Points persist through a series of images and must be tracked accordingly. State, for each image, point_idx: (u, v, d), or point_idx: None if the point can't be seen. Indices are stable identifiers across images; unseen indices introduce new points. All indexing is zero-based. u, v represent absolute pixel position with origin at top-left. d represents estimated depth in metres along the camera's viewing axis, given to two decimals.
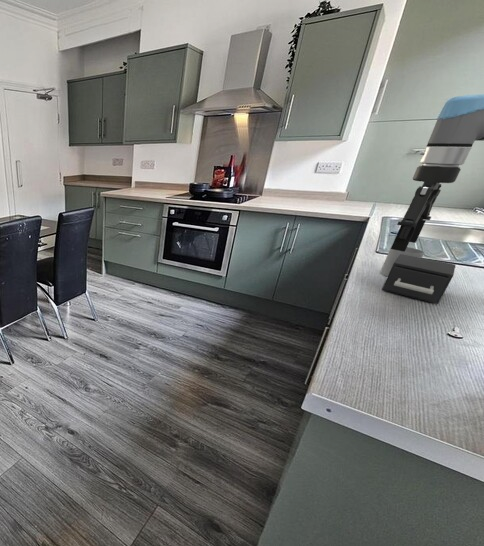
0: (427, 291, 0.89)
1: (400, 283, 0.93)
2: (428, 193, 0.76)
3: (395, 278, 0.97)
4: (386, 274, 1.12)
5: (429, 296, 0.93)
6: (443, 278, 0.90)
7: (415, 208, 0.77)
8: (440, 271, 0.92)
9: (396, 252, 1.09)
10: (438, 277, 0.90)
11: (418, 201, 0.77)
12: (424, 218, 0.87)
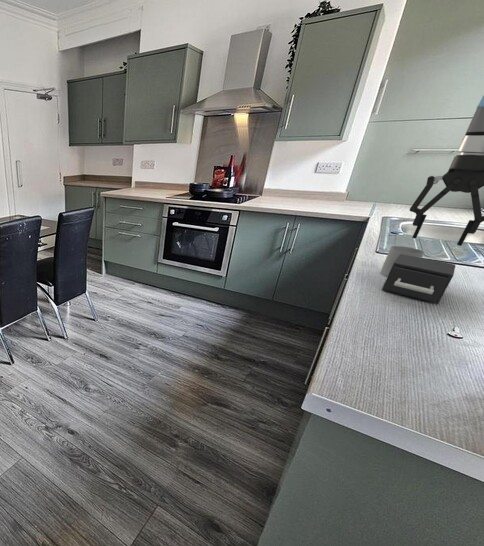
0: (427, 291, 0.89)
1: (400, 283, 0.93)
2: None
3: (395, 278, 0.97)
4: (386, 274, 1.12)
5: (429, 296, 0.93)
6: (443, 278, 0.90)
7: (418, 196, 0.88)
8: (440, 271, 0.92)
9: (396, 252, 1.09)
10: (438, 277, 0.90)
11: (423, 189, 0.87)
12: None
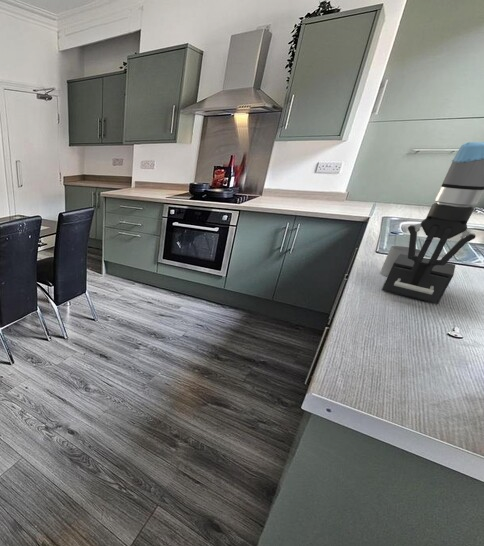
0: (427, 291, 0.89)
1: (400, 283, 0.93)
2: (409, 231, 0.90)
3: (395, 279, 0.97)
4: (386, 274, 1.12)
5: (429, 296, 0.93)
6: (443, 278, 0.90)
7: None
8: (440, 271, 0.92)
9: (396, 252, 1.09)
10: (438, 277, 0.90)
11: (410, 238, 0.91)
12: None
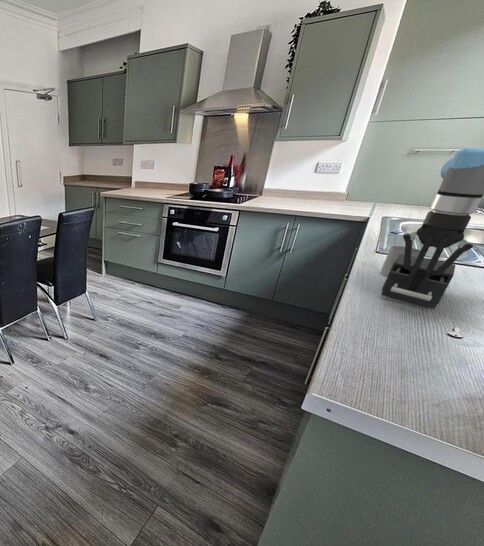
0: (425, 297, 0.85)
1: (397, 289, 0.89)
2: None
3: (392, 284, 0.94)
4: (386, 274, 1.12)
5: (427, 302, 0.89)
6: (442, 284, 0.86)
7: (405, 253, 0.88)
8: None
9: (396, 252, 1.09)
10: (436, 283, 0.87)
11: None
12: None
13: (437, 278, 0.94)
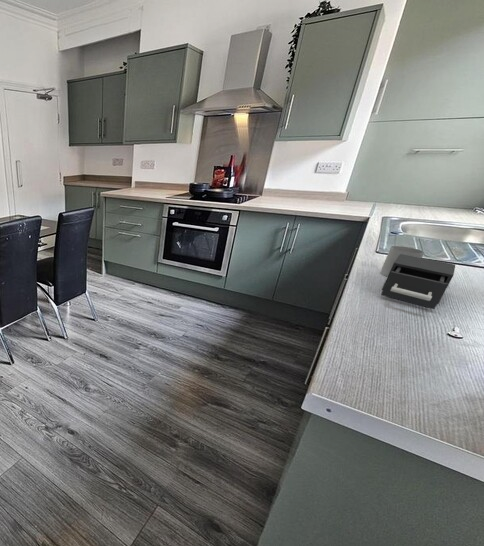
0: (425, 297, 0.85)
1: (397, 289, 0.89)
2: None
3: (392, 284, 0.94)
4: (386, 274, 1.12)
5: (427, 302, 0.89)
6: (442, 284, 0.86)
7: None
8: (440, 271, 0.92)
9: (396, 252, 1.09)
10: (436, 283, 0.87)
11: None
12: None
13: (437, 278, 0.94)
